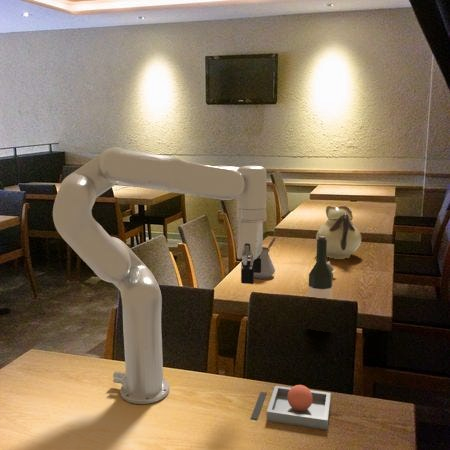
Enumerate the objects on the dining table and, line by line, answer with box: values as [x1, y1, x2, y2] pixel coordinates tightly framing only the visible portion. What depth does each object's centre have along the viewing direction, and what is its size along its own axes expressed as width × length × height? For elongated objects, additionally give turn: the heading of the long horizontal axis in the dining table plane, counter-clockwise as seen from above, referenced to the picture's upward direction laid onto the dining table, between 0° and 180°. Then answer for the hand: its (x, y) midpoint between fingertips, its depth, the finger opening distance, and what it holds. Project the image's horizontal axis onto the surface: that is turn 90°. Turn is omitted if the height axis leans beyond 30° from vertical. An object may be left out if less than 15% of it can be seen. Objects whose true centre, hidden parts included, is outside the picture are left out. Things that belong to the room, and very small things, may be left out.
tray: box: [266, 385, 332, 431], centre depth 121 cm, size 14×12×2 cm
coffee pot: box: [254, 237, 278, 280], centre depth 229 cm, size 21×12×15 cm, turn 152°
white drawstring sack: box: [315, 205, 362, 260], centre depth 254 cm, size 22×24×25 cm
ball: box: [287, 384, 313, 411], centre depth 120 cm, size 6×6×6 cm
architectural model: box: [326, 261, 337, 274], centre depth 221 cm, size 3×7×7 cm, turn 142°
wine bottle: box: [307, 236, 334, 300], centre depth 174 cm, size 8×8×30 cm
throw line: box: [250, 391, 267, 421], centre depth 123 cm, size 2×12×1 cm, turn 165°
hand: (251, 277), depth 132 cm, fingers open, 9 cm apart
